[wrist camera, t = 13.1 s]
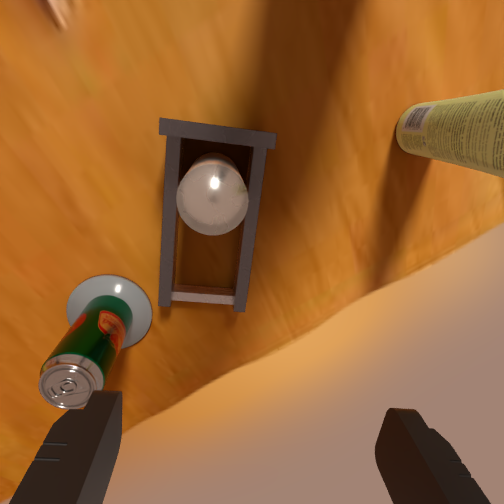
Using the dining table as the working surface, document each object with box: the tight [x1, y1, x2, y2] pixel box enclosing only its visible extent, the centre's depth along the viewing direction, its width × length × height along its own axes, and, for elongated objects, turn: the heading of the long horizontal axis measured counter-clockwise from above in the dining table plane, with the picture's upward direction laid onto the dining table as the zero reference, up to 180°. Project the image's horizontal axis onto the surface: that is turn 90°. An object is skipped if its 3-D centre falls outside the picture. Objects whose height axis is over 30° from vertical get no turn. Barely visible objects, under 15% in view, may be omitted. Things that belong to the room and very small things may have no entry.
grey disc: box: [67, 274, 152, 349], centre depth 40 cm, size 9×9×1 cm
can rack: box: [158, 118, 277, 312], centre depth 34 cm, size 18×9×8 cm, turn 173°
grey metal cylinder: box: [176, 152, 248, 235], centre depth 31 cm, size 5×5×12 cm
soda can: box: [39, 295, 133, 410], centre depth 34 cm, size 5×5×12 cm
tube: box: [396, 89, 504, 178], centre depth 28 cm, size 6×5×20 cm
